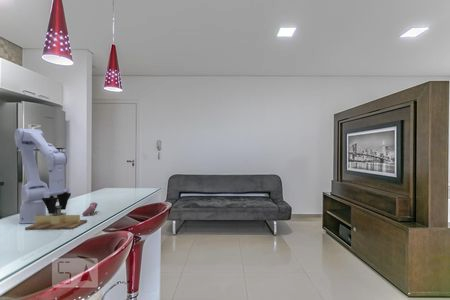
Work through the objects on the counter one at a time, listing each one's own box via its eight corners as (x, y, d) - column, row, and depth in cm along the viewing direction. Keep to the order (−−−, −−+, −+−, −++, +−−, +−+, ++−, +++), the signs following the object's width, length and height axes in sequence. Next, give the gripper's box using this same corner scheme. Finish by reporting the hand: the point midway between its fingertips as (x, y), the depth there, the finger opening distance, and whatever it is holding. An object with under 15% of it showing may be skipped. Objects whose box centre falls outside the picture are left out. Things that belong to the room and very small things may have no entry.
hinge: (30, 225, 112) (30, 216, 112) (41, 221, 118) (40, 212, 118) (75, 225, 112) (75, 215, 112) (83, 221, 118) (83, 212, 118)
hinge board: (25, 229, 110) (25, 227, 110) (43, 222, 121) (43, 220, 121) (73, 229, 110) (73, 226, 110) (87, 222, 121) (87, 219, 121)
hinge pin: (51, 224, 113) (50, 207, 113) (56, 222, 117) (55, 205, 117) (58, 224, 113) (58, 206, 113) (63, 222, 117) (63, 205, 117)
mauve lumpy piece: (90, 219, 132) (97, 206, 133) (81, 215, 131) (88, 202, 132) (94, 214, 142) (100, 202, 143) (85, 211, 140) (91, 199, 141)
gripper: (55, 182, 108) (55, 215, 108) (75, 178, 122) (75, 207, 122) (38, 182, 108) (38, 215, 108) (60, 178, 122) (60, 208, 122)
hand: (57, 211), depth 115 cm, fingers open, 7 cm apart
